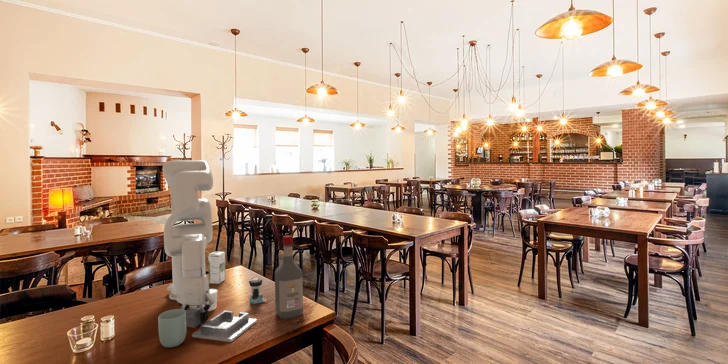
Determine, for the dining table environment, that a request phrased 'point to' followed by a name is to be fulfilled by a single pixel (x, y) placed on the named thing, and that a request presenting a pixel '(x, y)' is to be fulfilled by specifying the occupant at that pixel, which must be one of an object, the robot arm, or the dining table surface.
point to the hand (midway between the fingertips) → (195, 320)
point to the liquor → (288, 284)
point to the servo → (193, 316)
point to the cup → (172, 327)
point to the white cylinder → (214, 295)
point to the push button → (256, 291)
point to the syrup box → (216, 267)
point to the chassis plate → (225, 327)
